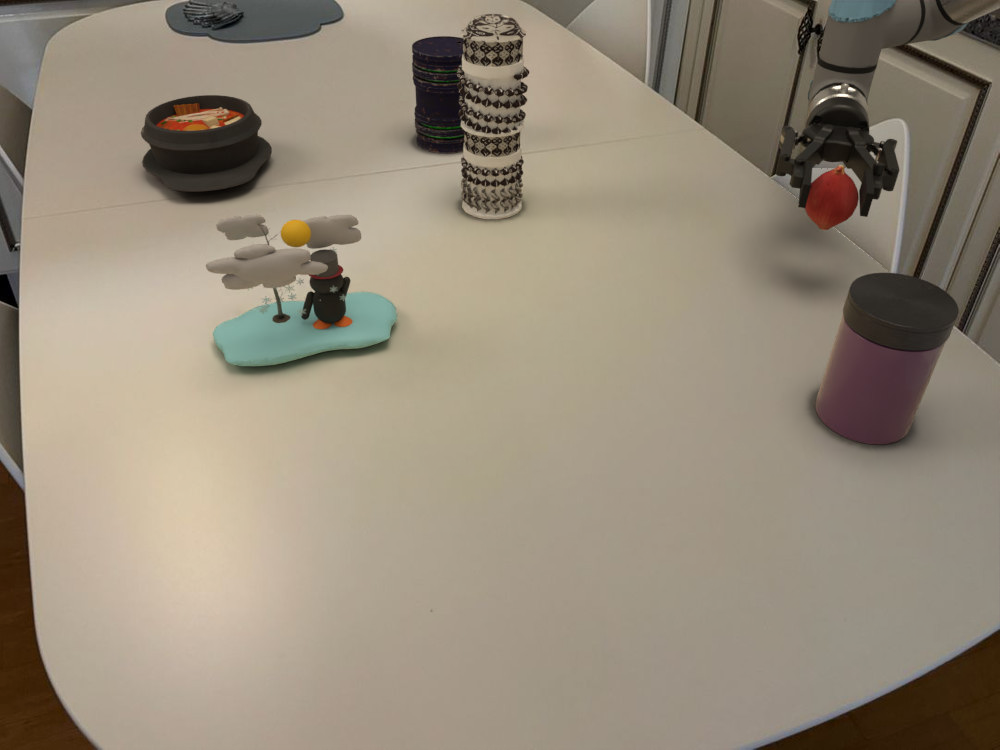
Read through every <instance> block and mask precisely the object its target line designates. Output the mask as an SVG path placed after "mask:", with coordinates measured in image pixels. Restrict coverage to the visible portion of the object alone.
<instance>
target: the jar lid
mask: <svg viewBox="0 0 1000 750" xmlns="http://www.w3.org/2000/svg"><path fill="white" fill-rule="evenodd" d="M959 312H960V310H959V306H958V303H957V301H956V300H955V299H954V297H953V296H952V295H951V294H949V293H948V292H947V291H946V290H944V289H943V288H941V287H940V286H938V285H936V284H934V283H932V282H929V281H927V280H924V279H922V278H920V277H916V276H912V275H908V274H905V273H904V274H903V273H897V272H873V273H867V274H863V275H861V276H859V277H857V278H855V279H854V280H853V281H852V283H851V284H850V286H849V289H848V292H847V295H846V297H845V301H844V304H843V308H842V315H843V316H844V318H845V320H846V322H847V323H848V325H849V326H850V327H851V328H852V329H853V330H854V331H856V332H857V333H858V334H860V335H861V336H863V337H865V338H867V339H869V340H871V341H873V342H875V343H878V344H881V345H883V346H887V347H891V348H895V349H901V350H911V351H920V350H929V349H933V348H936V347H939V346H941V345H942V344H944V343H945V344H946V342H947V341H948V340H949V338H950V336H951V333H952V331H953V328H954V326H955V324H956V322H957V319H958V317H959ZM945 344H944V345H945Z"/></svg>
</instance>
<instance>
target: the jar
mask: <svg viewBox="0 0 1000 750" xmlns="http://www.w3.org/2000/svg"><path fill="white" fill-rule="evenodd" d="M835 335H836V336H835V338H834V342H833V343H832V348H831V350H830V353H829V356H828V360H827V363H826V367H825V370H824V373H823V375H822V380H821V383H820V385H819V390H818V393H817V395H816V399H815V403H814V407H815V412H816V414H817V416H818V418H819V419H820V421H822V423H823V424H824V425H825V426H827V428H829V429H830V430H832V431H833V432H835V433H836V434H838V435H840V436H842V437H843V438H846V439H848V440H851V441H854V442H856V443H857V442H858V443H861V444H868V445H889V444H893V443H896V442H899V441H901V440H902V439H904V438H905V437H906V436H907V435H908V433H909V432H910V429H911V428H912V424H913V422H914V419H915V418H916V415H917V413H918V410H919V408H920V406H921V403H922V400H923V398H924V395H925V393H926V391H927V388H928V386H929V383H930V381H931V379H932V376H933V374H934V371H935V369H936V366H937V364H938V361H939V359H940V356H941V355H942V351H943V349H944V347H945V344H946V342H945V343H944V344H942V345H941V346H939V347H936V348H933V349H929V350H920V351H911V350H901V349H895V348H891V347H887V346H883V345H881V344H878V343H875V342H873V341H871V340H869V339H867V338H865V337H863V336H861V335H860V334H858V333H857V332H856V331H854V330H853V329H852V328H851V327H850V326H849V325H848V323H847V322H846V320H845V318H844V316H843V314H842V315H841V319H840V321H839V325H838V328H837V332H836V334H835Z"/></svg>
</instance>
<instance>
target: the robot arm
mask: <svg viewBox="0 0 1000 750" xmlns="http://www.w3.org/2000/svg"><path fill="white" fill-rule="evenodd" d="M999 9H1000V0H831V2H830V5H828V11H827V13H828V14H827V18H826V22H825V26H824V27H825V28H824V31H823V37H822V40H821V45H820V50H819V54H818V59H817V61H816V64H815V69H814V73H813V78H812V79H811V80H810V83H809V89H808V92H807V100H808V107H807V113H806V121H805V128H804V129H803V130H802V132H800V131H799V130H797V129H794V128H793V127H792V126H791V125H783V126H782V128H781V133H780V136H779V142H778V148H779V149H780V152H779V155H778V160H777V165H776V169H775V175H776V176H778V177H785V176H786V175H788V176H790V179H789V186H790V187H791V188H792V189H799V194H798V206H797V207H798V208H800V209H801V208H802V209H805V207H806V203H807V199H808V195H809V191H810V187H811V183H812V179H813V168H815V166H817V165H818V166H819V165H820V164H821V163H822V162H823V161H824V162H828V163H840V162H841V163H842V164H843V166H845V168H846V169H848V170H849V169H850V170H851V171H853V173H854V174H855V176H856V177H857V178H858V180H859V181H860V182H861V184H860V187H859V190H858V195H859V200H858V201H859V216H860V217H865V218H868V216H869V214H870V210H871V206H872V202H873V200H876V201H877V200H879V199H880V197H881V193H882V190H883V191H886V192H893V191H894V189H895V186H896V183H897V180H898V177H899V173H900V166H899V162H898V158H897V155H896V148H897V145H898V140H897V139H894V138H887V139H886V140H885V141H884V140H881V141H880V142H877V141H875V138H874V136H872V135H871V134H870V119H869V102H868V100H869V95H870V91H871V87H872V84H873V80H874V77H875V74H876V73H875V72H876V70H877V67H878V64H879V59H880V56H881V52H882V50H884V49H890V48H894V47H900V46H904V45H911V44H916V43H922V42H928V41H931V42H932V41H934V42H936V41H940V40H942V39H944V38H948V37H950V36H954V35H956V34H958V33H960V32H961V31H962V30H964V29H965V28H966V27H967V26H968V24H969V23H970V22H973V21H975V20H976V19H979V18H981V17H983V16H986V15H988V14H991V13H993V12H995V11H997V10H999ZM799 144H800V145H801V146H802V147H803V148H804V149H803V150H802V151H801V152H799V154H798V155H797V156H796V157H795V158H792V154H793V151H795V149H796V147H797V146H799ZM871 153H873V155H874V156H875V158H874V157H873V156H872V154H871Z"/></svg>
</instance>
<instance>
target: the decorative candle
mask: <svg viewBox="0 0 1000 750" xmlns="http://www.w3.org/2000/svg"><path fill="white" fill-rule="evenodd" d="M460 30H461V31H460V35H461V36H462V38H463V52H464V53H463V55H462V65H461V66H459V67H458V72H457V77H459V83H458V84H457V87H458V88H459V93H460V94H461V95H460V99H459V104H460V107H461V109H460V111H459V114H460V119H461V127H462V128H463V129H464V130H465V134H464V140H465V142H464V146H463V151H462V153H463V154H462V157H461V159H460V163H461V167H462V168H461V169H460V171H461V177H462V179H461V180H460V181H461V182H460V183H461V184H460V185H461V194H460V195H461V199H462V203H461V208H462V209H463V210H464V212H465V213H466V214H468V215H470V216H471V217H474V218H479V219H483V220H501V219H507V218H510V217H513V216H516V215H517V214H518V213H519V212H520V211H521V210H522V206H523V205H522V203H523V202H522V198H523V196H524V195H523V193H522V188H523V187H524V183H523V179H522V178H523V177H522V176H523V175H524V170H523V165H524V163H525V162H524V159H523V155H522V143H521V131H522V130H523V129H524V128H525V118H526V116H527V114H526V112H525V111H524V110H523V109H522V108H521V107H523V106H525V105H526V103H527V102H528V98H527V97H526V96H525V95H524V94H526V93H527V91H528V88H529V87H528V85H527V83H525V82H524V81H523V80H524V79H525V78H527V77H528V76H529V75H530V69H528V68H527V67H526V66H524V64H525V63H524V61H525V55H524V54H523V53H524V52H523V51H524V38H525V37H526V35H527V30H525V29H523V28H522V27H521V26H520V24H519V22H518V21H517V20H516V19H515V18H513V16H509V15H505V14H501V13H485V14H480V15H477V16H474V17H473V18H471V19H470V20H469V21H468V24H467V25H466V26H465V27H464V28H462V29H460ZM462 73H463V74H464V75H462ZM462 84H464V85H465V89H464V86H463V87H462ZM464 100H465V103H464ZM464 111H465V113H464Z"/></svg>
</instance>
